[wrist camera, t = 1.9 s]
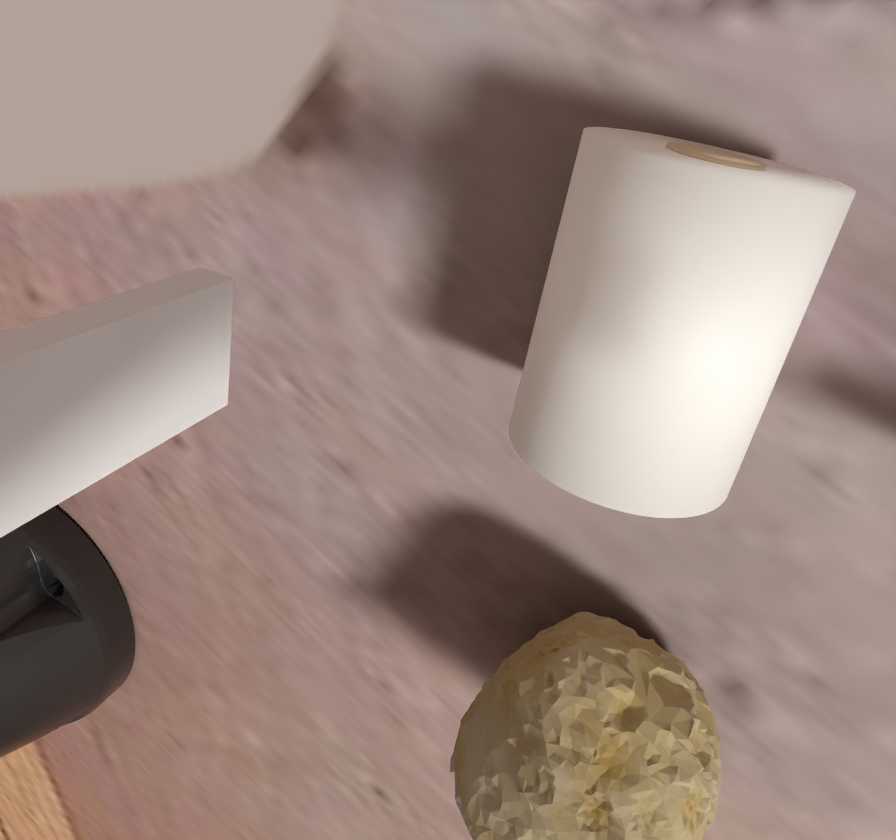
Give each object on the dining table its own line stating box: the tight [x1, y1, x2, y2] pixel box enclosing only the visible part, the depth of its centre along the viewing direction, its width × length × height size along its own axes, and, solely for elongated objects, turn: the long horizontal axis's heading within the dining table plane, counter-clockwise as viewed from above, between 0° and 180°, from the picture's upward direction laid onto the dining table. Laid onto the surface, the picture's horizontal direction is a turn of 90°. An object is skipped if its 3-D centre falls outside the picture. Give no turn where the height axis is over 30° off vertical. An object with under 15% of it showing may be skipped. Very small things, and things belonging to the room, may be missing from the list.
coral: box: [450, 612, 722, 840], centre depth 28 cm, size 10×10×10 cm
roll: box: [509, 127, 856, 518], centre depth 22 cm, size 9×7×7 cm
